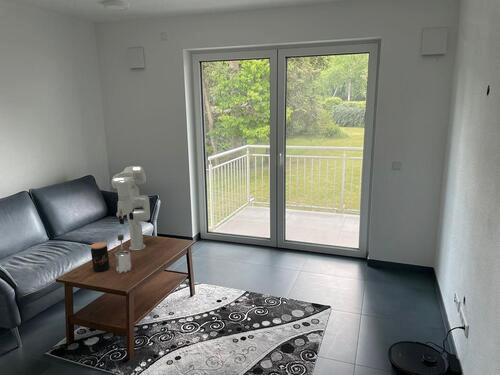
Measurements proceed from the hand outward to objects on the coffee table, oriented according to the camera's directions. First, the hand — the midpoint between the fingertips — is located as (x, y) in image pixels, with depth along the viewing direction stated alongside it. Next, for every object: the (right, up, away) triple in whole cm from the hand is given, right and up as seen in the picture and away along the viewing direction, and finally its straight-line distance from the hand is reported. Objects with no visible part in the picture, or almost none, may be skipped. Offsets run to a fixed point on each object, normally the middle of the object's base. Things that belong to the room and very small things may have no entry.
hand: (126, 221), depth 258 cm
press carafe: (-3, -33, +3) cm, 34 cm away
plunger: (-3, -23, 0) cm, 23 cm away
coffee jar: (-19, -34, +4) cm, 39 cm away
